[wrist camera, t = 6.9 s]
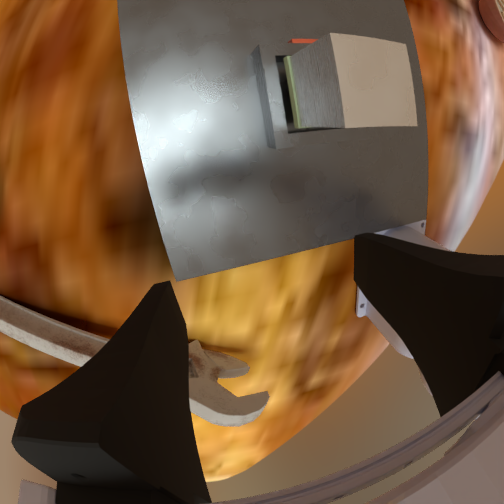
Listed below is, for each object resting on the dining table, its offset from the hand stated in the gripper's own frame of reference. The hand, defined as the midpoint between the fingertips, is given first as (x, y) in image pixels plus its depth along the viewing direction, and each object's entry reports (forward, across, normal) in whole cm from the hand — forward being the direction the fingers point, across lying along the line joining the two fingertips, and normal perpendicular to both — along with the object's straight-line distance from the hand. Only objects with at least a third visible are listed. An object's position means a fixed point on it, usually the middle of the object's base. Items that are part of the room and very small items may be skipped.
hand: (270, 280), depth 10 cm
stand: (+10, -6, -7) cm, 14 cm away
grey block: (+6, -6, -7) cm, 11 cm away
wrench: (+11, +14, +8) cm, 19 cm away
